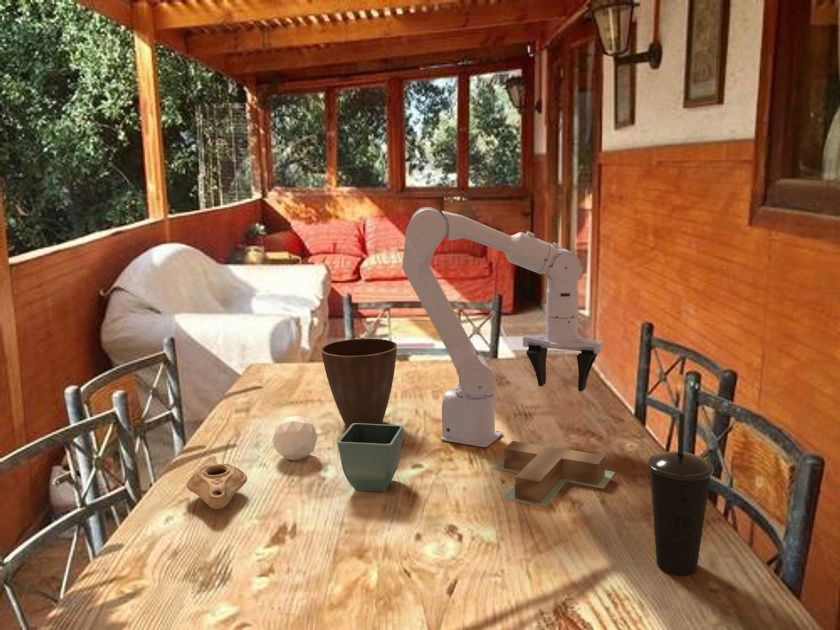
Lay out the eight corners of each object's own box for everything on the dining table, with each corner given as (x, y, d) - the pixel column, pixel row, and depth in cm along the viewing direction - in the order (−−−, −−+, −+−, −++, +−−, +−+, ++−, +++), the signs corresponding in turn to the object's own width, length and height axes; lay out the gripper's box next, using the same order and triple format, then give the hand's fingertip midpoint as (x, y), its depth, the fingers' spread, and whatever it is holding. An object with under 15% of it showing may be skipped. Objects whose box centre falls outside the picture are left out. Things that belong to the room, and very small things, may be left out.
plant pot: (311, 432, 147) (306, 353, 143) (347, 408, 160) (343, 336, 157) (381, 440, 141) (377, 358, 138) (411, 415, 154) (408, 340, 151)
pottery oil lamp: (189, 523, 109) (170, 479, 110) (206, 514, 121) (188, 474, 122) (245, 497, 111) (226, 453, 111) (256, 490, 122) (239, 450, 123)
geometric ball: (293, 468, 136) (294, 425, 140) (326, 460, 132) (326, 416, 136) (262, 460, 131) (264, 416, 134) (295, 451, 127) (296, 406, 130)
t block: (479, 491, 118) (478, 470, 117) (513, 459, 130) (512, 440, 129) (578, 510, 110) (578, 488, 109) (604, 475, 122) (605, 455, 121)
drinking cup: (635, 552, 98) (639, 406, 94) (692, 548, 99) (698, 403, 95) (658, 584, 91) (664, 427, 87) (719, 579, 91) (727, 423, 87)
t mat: (466, 491, 118) (466, 490, 118) (508, 454, 133) (508, 453, 133) (584, 515, 109) (584, 514, 109) (615, 472, 123) (615, 471, 123)
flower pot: (393, 499, 116) (391, 444, 114) (339, 495, 118) (336, 441, 116) (406, 476, 125) (404, 424, 123) (355, 473, 126) (352, 422, 125)
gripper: (516, 316, 136) (516, 388, 139) (595, 322, 129) (594, 398, 132) (530, 309, 142) (530, 378, 145) (606, 315, 135) (605, 387, 138)
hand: (561, 387), depth 139 cm, fingers open, 7 cm apart
